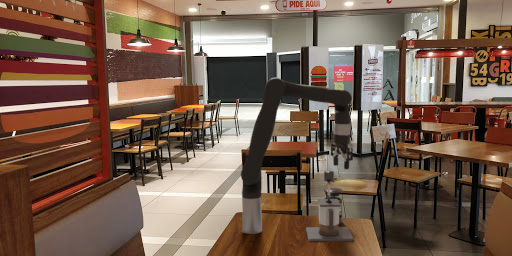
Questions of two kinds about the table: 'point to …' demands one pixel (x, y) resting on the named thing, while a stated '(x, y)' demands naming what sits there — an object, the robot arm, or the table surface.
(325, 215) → the carafe
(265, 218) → the table surface
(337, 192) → the french press
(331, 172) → the plunger
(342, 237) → the slate board
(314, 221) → the table surface
